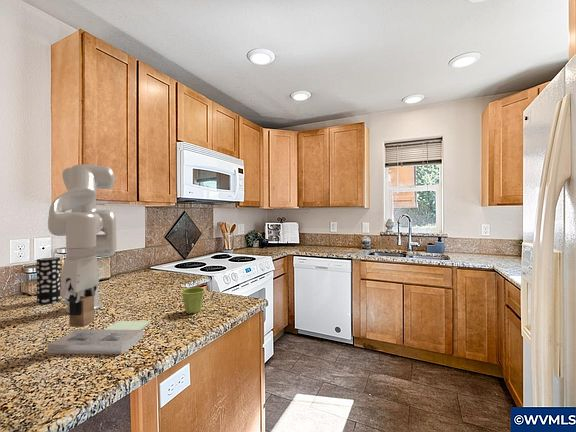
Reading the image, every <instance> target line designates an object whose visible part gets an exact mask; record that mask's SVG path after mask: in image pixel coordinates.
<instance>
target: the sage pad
mask: <svg viewBox="0 0 576 432" xmlns="http://www.w3.org/2000/svg"><path fill="white" fill-rule="evenodd" d="M150 324H151V321H150V320H149V321H148V320H118V321H116V322H114V323H112V324H110V325H109V326H107V327H105V328H104V329H103V330H144V328H146V327H148V326H149V325H150Z"/></svg>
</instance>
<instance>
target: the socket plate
mask: <svg viewBox="0 0 576 432" xmlns="http://www.w3.org/2000/svg"><path fill="white" fill-rule="evenodd" d="M143 338H144V329H142V330H104V329H99V328H98V329H94V328H93V329H91V328H90V329H89V328H88V329H87V328H85V329H83V328H80V329H79V328H76V329H75V330H73V331H71V332H69V333H67V334H65V335H64V336H61V337H59V338H58V339H55V340H54V341H52V342H50V343H48V344H47V354H74V355H75V354H79V355H82V354H83V355H86V354H88V355H90V354H91V355H94V354H95V355H122V354H124V353H125V352H127V350H129V349H130V348H132V347H133V346H134V345H135V344H136V343H139V341H141V340H142V339H143Z"/></svg>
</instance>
